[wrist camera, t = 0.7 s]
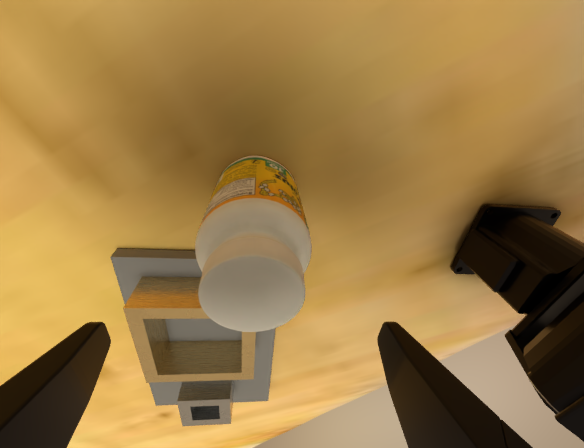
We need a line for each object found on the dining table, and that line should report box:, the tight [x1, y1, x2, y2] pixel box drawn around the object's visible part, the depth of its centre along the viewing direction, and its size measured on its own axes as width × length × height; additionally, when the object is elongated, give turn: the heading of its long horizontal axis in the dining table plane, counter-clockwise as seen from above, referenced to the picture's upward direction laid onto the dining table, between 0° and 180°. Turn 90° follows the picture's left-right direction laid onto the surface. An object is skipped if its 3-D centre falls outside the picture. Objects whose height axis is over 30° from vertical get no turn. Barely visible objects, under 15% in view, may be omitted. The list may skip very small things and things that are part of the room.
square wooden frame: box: [123, 276, 256, 383], centre depth 21 cm, size 8×8×3 cm
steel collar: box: [177, 380, 234, 426], centre depth 26 cm, size 4×4×3 cm
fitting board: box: [111, 248, 275, 406], centre depth 25 cm, size 12×20×1 cm, turn 174°
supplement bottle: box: [195, 156, 312, 332], centre depth 14 cm, size 5×5×10 cm
